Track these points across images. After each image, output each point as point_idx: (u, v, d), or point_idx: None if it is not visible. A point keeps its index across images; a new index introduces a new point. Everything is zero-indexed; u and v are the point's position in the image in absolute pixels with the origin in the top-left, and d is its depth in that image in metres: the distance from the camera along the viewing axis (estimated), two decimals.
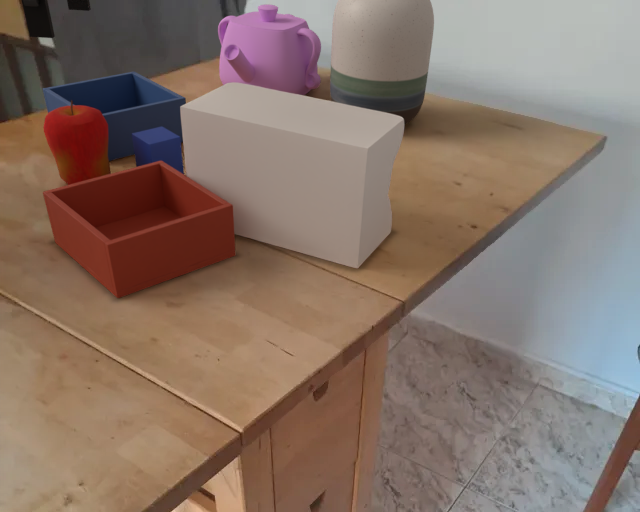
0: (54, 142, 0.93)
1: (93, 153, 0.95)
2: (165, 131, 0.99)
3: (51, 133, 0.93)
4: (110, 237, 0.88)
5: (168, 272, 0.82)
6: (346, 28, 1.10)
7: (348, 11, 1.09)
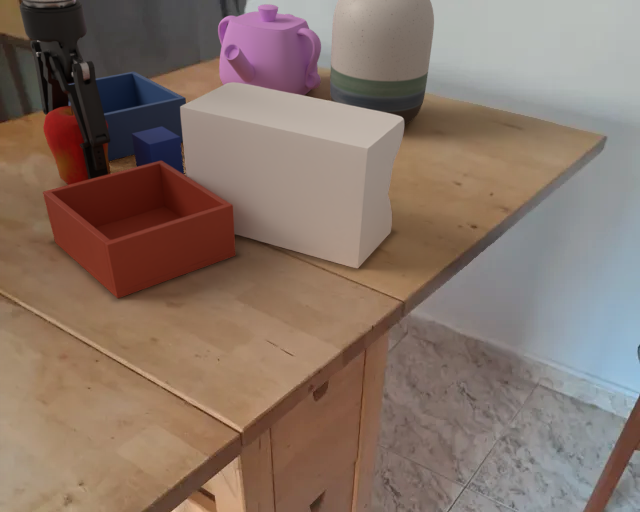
0: (54, 142, 0.93)
1: None
2: (165, 131, 0.99)
3: (51, 133, 0.93)
4: (110, 237, 0.88)
5: (168, 272, 0.82)
6: (346, 28, 1.10)
7: (348, 11, 1.09)
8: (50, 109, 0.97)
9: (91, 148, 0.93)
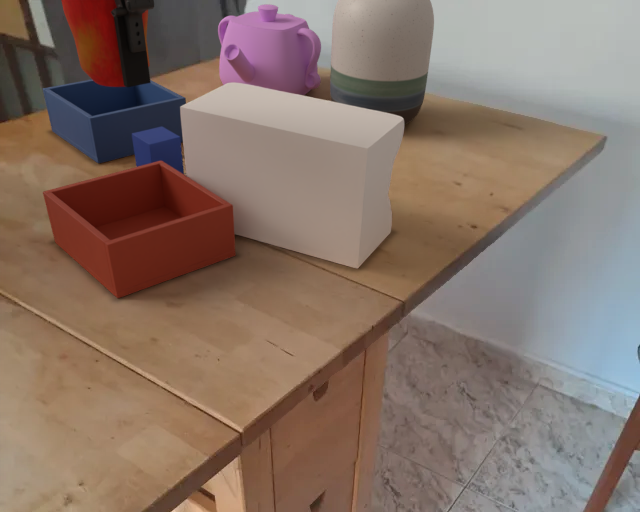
0: (76, 11, 0.67)
1: None
2: (165, 131, 0.99)
3: None
4: (110, 237, 0.88)
5: (168, 272, 0.82)
6: (346, 28, 1.10)
7: (348, 11, 1.09)
8: None
9: (127, 18, 0.67)
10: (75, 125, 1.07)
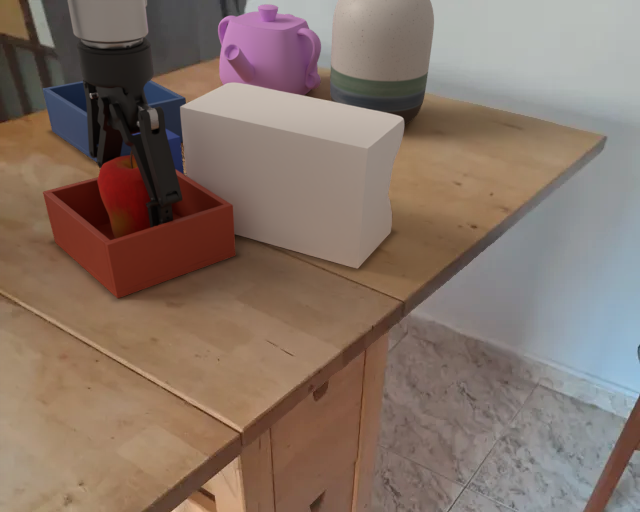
0: (111, 200, 0.80)
1: None
2: None
3: (107, 190, 0.79)
4: (110, 237, 0.88)
5: (168, 272, 0.82)
6: (346, 28, 1.10)
7: (348, 11, 1.09)
8: (100, 154, 0.83)
9: (158, 207, 0.78)
10: (75, 125, 1.07)
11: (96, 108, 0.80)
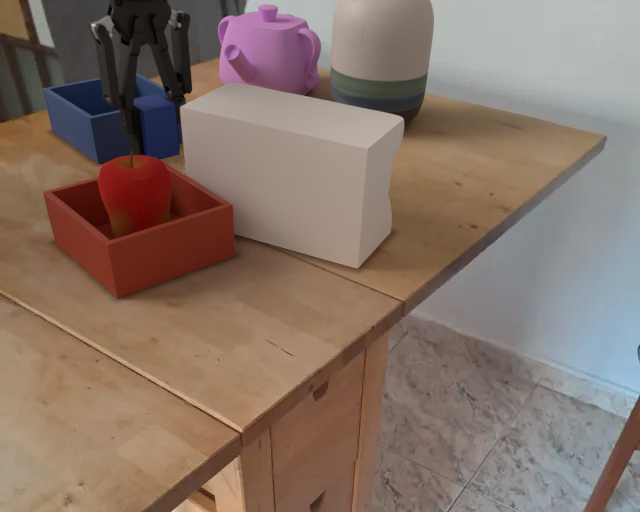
0: (111, 200, 0.80)
1: (155, 211, 0.81)
2: (159, 98, 0.96)
3: (108, 190, 0.79)
4: (110, 237, 0.88)
5: (168, 272, 0.82)
6: (346, 28, 1.10)
7: (348, 11, 1.09)
8: (130, 93, 0.91)
9: (177, 101, 0.96)
10: (75, 125, 1.07)
11: None
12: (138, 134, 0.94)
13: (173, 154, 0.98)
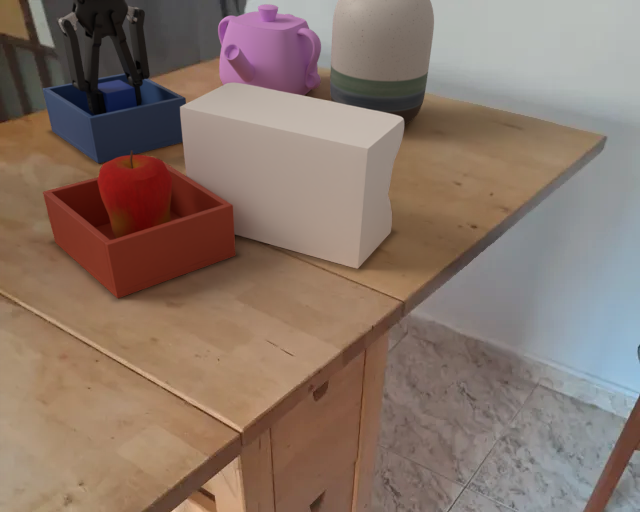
0: (111, 200, 0.80)
1: (155, 211, 0.81)
2: (121, 83, 1.11)
3: (108, 190, 0.79)
4: (110, 237, 0.88)
5: (168, 272, 0.82)
6: (346, 28, 1.10)
7: (348, 11, 1.09)
8: (94, 78, 1.06)
9: (137, 85, 1.12)
10: (75, 125, 1.07)
11: None
12: None
13: None
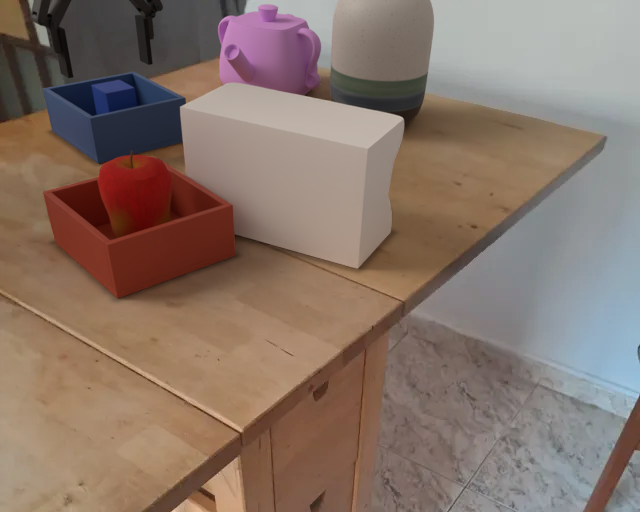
0: (111, 200, 0.80)
1: (155, 211, 0.81)
2: (121, 83, 1.11)
3: (108, 190, 0.79)
4: (110, 237, 0.88)
5: (168, 272, 0.82)
6: (346, 28, 1.10)
7: (348, 11, 1.09)
8: (59, 14, 0.98)
9: (149, 18, 1.07)
10: (75, 125, 1.07)
11: None
12: (65, 53, 1.01)
13: None
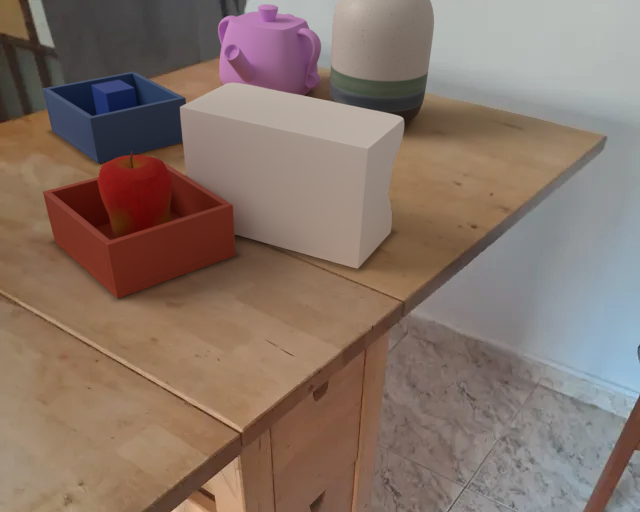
0: (111, 200, 0.80)
1: (155, 211, 0.81)
2: (121, 83, 1.11)
3: (108, 190, 0.79)
4: (110, 237, 0.88)
5: (168, 272, 0.82)
6: (346, 28, 1.10)
7: (348, 11, 1.09)
8: None
9: None
10: (75, 125, 1.07)
11: None
12: None
13: None
